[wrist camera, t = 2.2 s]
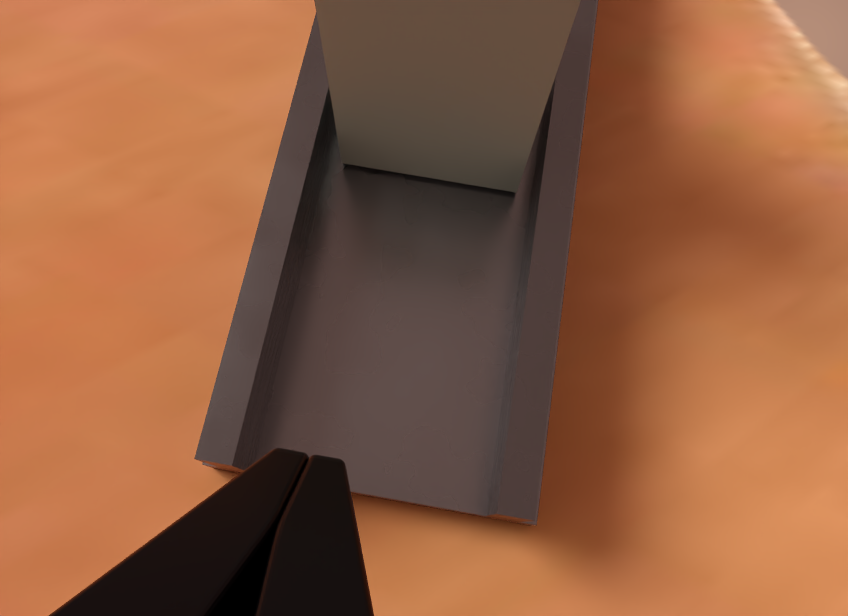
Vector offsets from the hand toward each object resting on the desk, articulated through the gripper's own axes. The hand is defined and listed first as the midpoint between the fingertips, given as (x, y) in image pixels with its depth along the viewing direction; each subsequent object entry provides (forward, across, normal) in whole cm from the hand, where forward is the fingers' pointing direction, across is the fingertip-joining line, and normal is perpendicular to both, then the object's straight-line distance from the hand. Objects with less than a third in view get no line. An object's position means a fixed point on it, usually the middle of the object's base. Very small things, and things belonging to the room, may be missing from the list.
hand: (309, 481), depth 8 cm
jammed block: (+18, 0, -1) cm, 18 cm away
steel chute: (+19, 0, 0) cm, 19 cm away
